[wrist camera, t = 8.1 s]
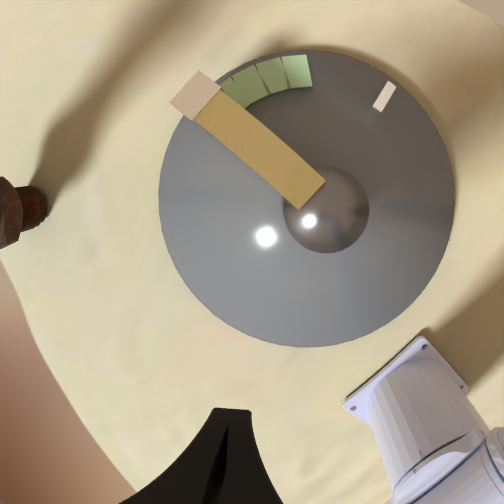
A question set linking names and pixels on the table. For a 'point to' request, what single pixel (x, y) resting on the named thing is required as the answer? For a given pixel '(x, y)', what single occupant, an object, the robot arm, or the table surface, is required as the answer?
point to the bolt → (19, 210)
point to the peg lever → (282, 170)
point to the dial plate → (269, 199)
